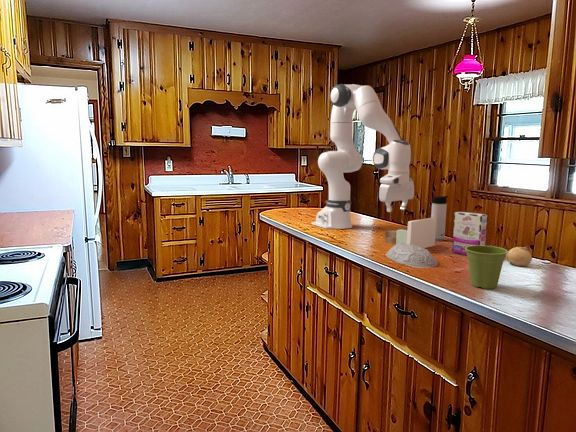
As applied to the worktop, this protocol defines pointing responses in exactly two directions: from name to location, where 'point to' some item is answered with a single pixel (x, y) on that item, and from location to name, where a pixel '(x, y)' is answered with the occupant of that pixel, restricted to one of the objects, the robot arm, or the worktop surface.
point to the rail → (390, 236)
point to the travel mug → (439, 216)
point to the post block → (418, 233)
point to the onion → (519, 256)
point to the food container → (412, 256)
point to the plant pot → (485, 265)
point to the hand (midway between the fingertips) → (396, 210)
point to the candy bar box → (468, 231)
